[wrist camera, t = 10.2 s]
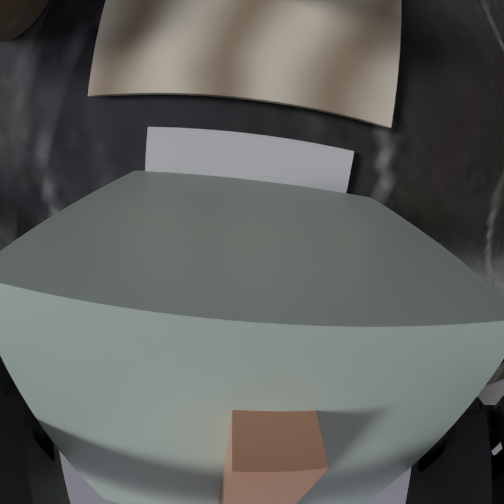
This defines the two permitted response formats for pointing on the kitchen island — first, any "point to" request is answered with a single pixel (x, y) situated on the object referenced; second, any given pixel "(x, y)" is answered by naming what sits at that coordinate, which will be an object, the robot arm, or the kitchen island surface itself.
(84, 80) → the kitchen island surface
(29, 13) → the flower pot
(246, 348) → the cube with orange handle
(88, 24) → the kitchen island surface
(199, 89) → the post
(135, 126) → the kitchen island surface
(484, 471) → the robot arm
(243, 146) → the pad
